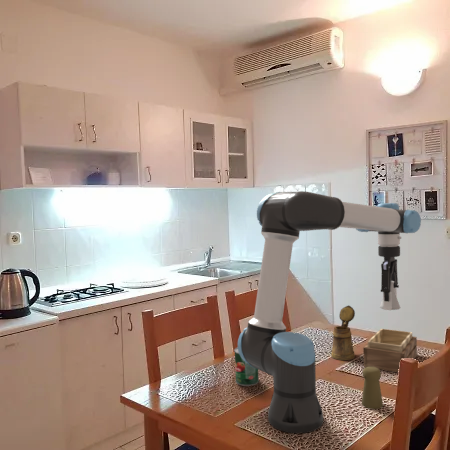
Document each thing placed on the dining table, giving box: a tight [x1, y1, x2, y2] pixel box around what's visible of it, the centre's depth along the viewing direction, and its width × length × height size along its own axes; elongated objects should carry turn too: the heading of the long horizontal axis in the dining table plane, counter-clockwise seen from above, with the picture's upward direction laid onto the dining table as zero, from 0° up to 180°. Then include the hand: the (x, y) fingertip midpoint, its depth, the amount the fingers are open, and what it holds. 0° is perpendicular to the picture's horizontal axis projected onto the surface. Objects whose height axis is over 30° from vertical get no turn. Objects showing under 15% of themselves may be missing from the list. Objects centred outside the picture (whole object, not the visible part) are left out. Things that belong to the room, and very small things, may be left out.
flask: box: [379, 281, 401, 311], centre depth 170 cm, size 7×7×10 cm
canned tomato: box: [234, 346, 260, 387], centre depth 158 cm, size 8×8×11 cm
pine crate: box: [367, 328, 413, 352], centre depth 172 cm, size 18×12×8 cm, turn 147°
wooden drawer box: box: [362, 335, 418, 373], centre depth 172 cm, size 21×14×7 cm, turn 147°
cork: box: [361, 367, 384, 410], centre depth 137 cm, size 6×6×11 cm
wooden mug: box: [330, 305, 356, 361], centre depth 180 cm, size 9×14×18 cm, turn 147°
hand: (390, 307), depth 171 cm, fingers closed on flask, 7 cm apart
